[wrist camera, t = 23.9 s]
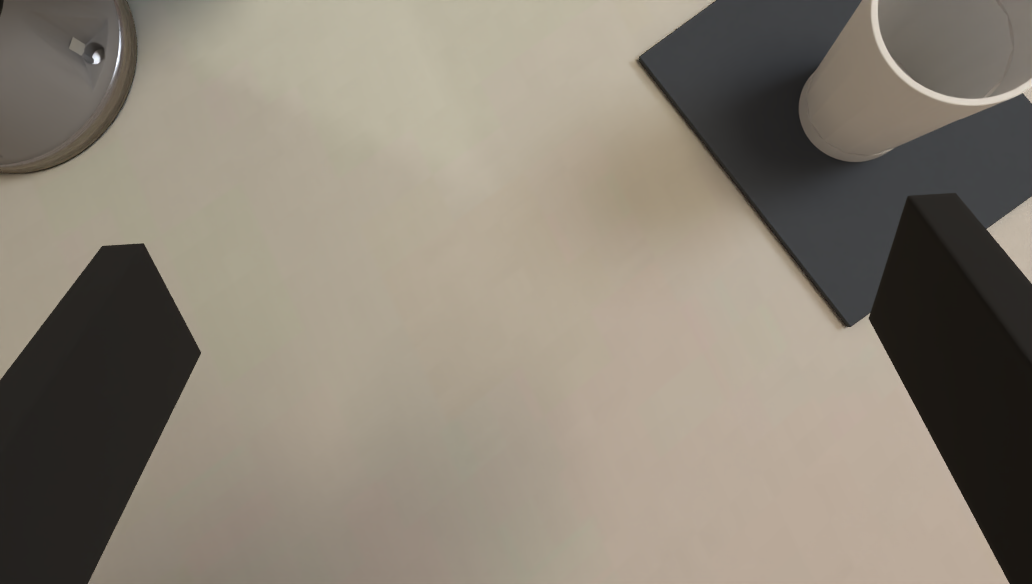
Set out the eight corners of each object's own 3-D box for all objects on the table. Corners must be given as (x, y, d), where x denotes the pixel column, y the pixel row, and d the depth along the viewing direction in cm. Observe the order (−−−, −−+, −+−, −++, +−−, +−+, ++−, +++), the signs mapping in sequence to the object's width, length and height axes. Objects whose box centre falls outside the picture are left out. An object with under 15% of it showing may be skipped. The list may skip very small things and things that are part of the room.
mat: (638, 59, 43) (639, 56, 43) (853, -98, 43) (856, -103, 43) (847, 327, 41) (850, 326, 41) (1074, 163, 41) (1080, 160, 40)
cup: (903, 27, 42) (1037, -102, 30) (942, 156, 41) (1096, 78, 29) (768, 61, 42) (847, -52, 30) (805, 190, 41) (901, 126, 30)
